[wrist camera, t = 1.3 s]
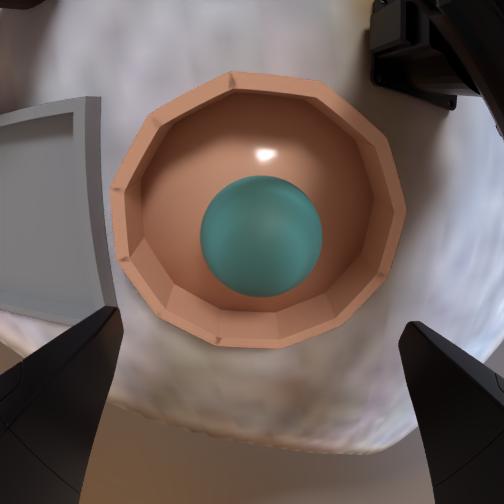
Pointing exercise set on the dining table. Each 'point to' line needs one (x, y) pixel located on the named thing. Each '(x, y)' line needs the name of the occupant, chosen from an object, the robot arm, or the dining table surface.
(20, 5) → the coffee mug
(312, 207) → the ball
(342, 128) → the bowl
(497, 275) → the dining table surface
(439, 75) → the robot arm
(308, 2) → the dining table surface
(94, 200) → the tray
